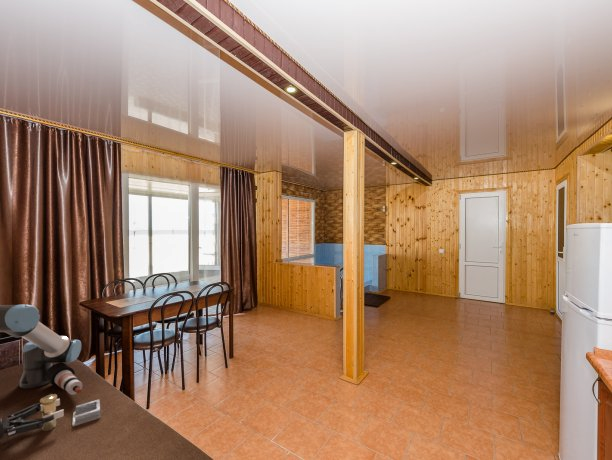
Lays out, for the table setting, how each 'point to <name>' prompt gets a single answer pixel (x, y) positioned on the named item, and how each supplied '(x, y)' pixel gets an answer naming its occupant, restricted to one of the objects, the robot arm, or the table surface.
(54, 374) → the cable
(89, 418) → the keeper bracket
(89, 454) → the table surface
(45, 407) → the end pin
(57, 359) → the robot arm
